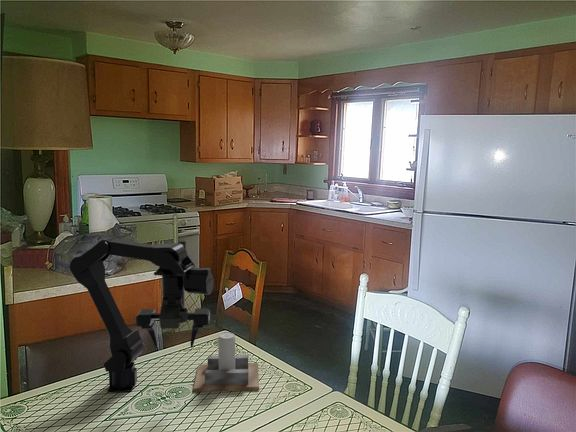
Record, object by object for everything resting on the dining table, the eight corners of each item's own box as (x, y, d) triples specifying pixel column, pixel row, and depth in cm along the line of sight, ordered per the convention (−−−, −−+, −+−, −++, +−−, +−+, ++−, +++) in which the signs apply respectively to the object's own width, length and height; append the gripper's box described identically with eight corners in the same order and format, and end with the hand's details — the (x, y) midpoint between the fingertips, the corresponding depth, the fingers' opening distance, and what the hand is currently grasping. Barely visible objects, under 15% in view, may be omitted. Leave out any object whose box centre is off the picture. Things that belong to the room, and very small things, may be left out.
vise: (193, 391, 128) (193, 376, 127) (199, 365, 143) (198, 351, 142) (259, 390, 129) (259, 374, 129) (257, 364, 144) (257, 350, 144)
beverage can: (226, 380, 132) (226, 340, 130) (215, 374, 135) (214, 335, 133) (238, 373, 136) (238, 334, 134) (226, 368, 139) (226, 330, 137)
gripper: (129, 302, 114) (131, 361, 116) (206, 301, 116) (206, 360, 118) (139, 288, 125) (141, 343, 127) (209, 287, 127) (210, 341, 129)
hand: (174, 347), depth 125 cm, fingers open, 9 cm apart
